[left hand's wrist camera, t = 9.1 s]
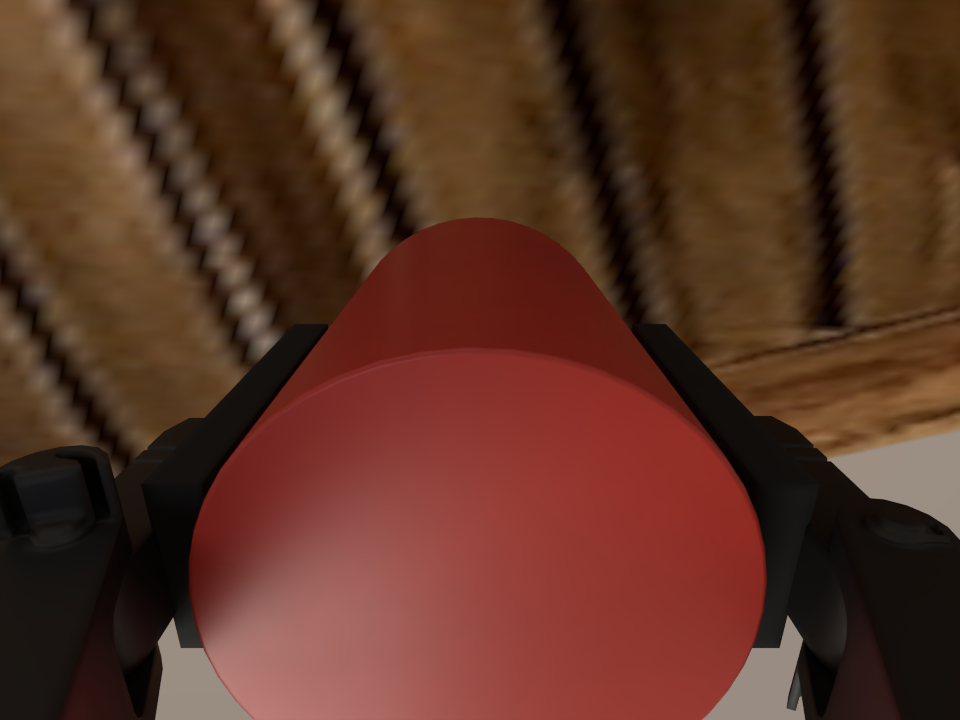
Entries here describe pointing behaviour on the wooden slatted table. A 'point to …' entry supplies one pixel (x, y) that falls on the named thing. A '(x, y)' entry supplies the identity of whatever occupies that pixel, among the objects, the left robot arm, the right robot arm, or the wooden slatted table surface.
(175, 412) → the wooden slatted table surface
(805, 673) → the left robot arm
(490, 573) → the cylinder
